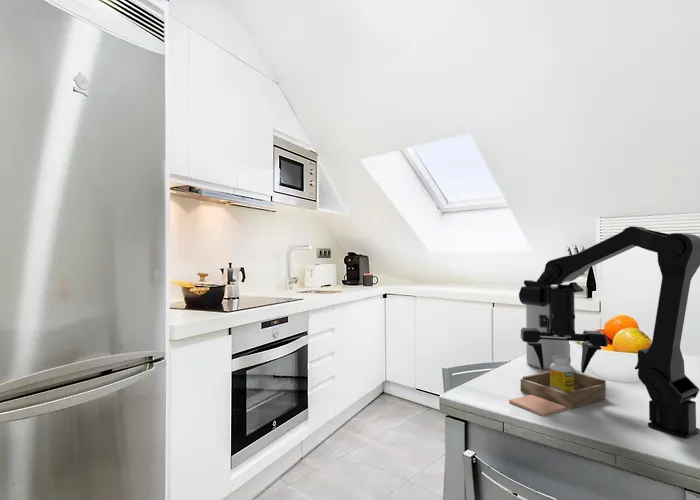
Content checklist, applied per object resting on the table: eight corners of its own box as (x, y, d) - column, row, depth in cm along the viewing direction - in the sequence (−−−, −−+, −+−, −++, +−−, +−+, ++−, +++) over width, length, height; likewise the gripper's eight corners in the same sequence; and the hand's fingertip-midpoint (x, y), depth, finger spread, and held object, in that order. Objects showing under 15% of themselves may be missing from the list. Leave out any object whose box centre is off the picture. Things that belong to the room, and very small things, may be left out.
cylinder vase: (537, 358, 134) (536, 285, 135) (576, 366, 125) (576, 287, 125) (519, 364, 126) (518, 287, 127) (560, 373, 117) (559, 289, 117)
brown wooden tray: (605, 398, 96) (605, 380, 96) (571, 408, 90) (571, 389, 90) (554, 382, 108) (554, 366, 108) (520, 390, 102) (520, 373, 102)
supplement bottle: (557, 389, 102) (556, 353, 103) (578, 395, 98) (578, 357, 98) (545, 393, 100) (545, 355, 100) (567, 400, 95) (566, 360, 95)
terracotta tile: (566, 409, 89) (566, 406, 89) (543, 416, 85) (543, 413, 85) (531, 396, 97) (531, 394, 97) (509, 402, 93) (509, 399, 93)
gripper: (594, 306, 104) (594, 365, 104) (518, 304, 109) (518, 360, 109) (608, 312, 93) (608, 377, 93) (523, 309, 99) (523, 371, 99)
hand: (562, 370), depth 99 cm, fingers open, 9 cm apart
